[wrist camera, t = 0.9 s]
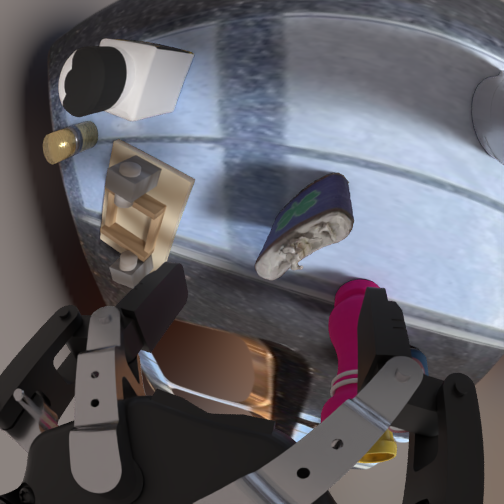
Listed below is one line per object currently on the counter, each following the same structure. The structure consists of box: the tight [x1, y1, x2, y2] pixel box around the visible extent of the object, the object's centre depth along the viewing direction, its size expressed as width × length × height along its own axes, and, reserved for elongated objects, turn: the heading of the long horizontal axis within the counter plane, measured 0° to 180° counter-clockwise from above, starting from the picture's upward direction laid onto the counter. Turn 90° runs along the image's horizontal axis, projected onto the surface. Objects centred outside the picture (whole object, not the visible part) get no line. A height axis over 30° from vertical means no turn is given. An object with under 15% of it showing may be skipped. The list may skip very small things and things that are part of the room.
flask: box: [255, 173, 354, 281], centre depth 23 cm, size 9×3×11 cm, turn 135°
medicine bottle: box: [59, 39, 194, 121], centre depth 18 cm, size 7×7×12 cm
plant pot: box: [358, 429, 397, 463], centre depth 45 cm, size 10×10×10 cm
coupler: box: [43, 121, 98, 164], centre depth 27 cm, size 4×4×7 cm
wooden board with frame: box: [100, 139, 195, 289], centre depth 32 cm, size 17×12×6 cm
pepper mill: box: [321, 279, 380, 423], centre depth 24 cm, size 7×7×20 cm
